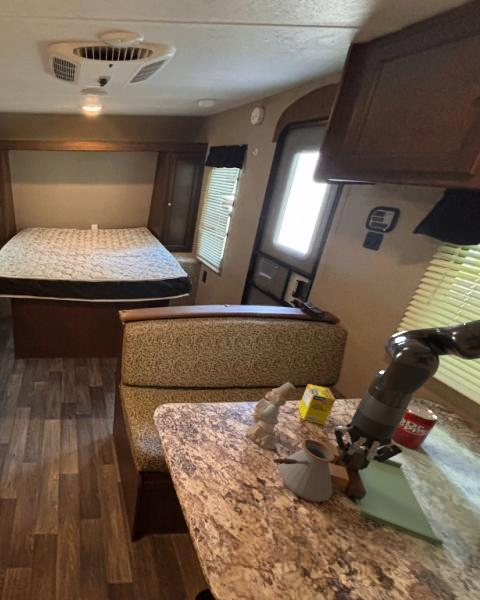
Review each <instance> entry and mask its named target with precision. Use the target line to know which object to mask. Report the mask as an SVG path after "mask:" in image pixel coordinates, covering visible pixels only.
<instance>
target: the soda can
mask: <svg viewBox="0 0 480 600" xmlns="http://www.w3.org/2000/svg"><path fill="white" fill-rule="evenodd" d="M437 423H438V416H437V415H436V414H435V413H434V412H433V411H432V410H430V409H429V408H427V407H424V406H422V405H419V404H416V403H412V402H410V404H409V406H408V408H407V410H406V414H405V416H404V418H403V419H402V421H401V423H400V425H399V426H398V428H397V430H396V432H395V433H394V435H393V437H392V438H391V439H392V441H393V442H394V441H395V442H398V444H399V445H400V447H404V448H407V449H408V450H409V449H410V450H414V451H415V450H416V451H417V450H419V449H421V447H422V445H423V444H424V442H425V441H426V439H427V438H428V436H430V433H431V432H432V431H433V429H434V427H435V426H436V425H437Z"/></svg>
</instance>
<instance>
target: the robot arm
mask: <svg viewBox="0 0 480 600" xmlns="http://www.w3.org/2000/svg"><path fill="white" fill-rule="evenodd" d="M383 346H384V351H385V353H386V354H387V356H388V359H389V360H390V362H389V364H388V367H387V368H386V369H383V370H380V371H378V372H377V373H376V374H375V375H374V376H373V378H372V380H371V382H370V385H369V386H368V389H367V390H366V392H365V393H364V394H363V396H362V397H361V400H360V401H359V402H358V406H357V408H356V410H355V412H354V414H353V415H352V418H351V420H350V422H349V423H347V424H346V425H345V426H339V425H338V424H336V423H335V424H332V429H333V433H334V436H335V439H336V443H337V446H339V449H340V450H343V452H342V454H341V460H342V462H343V463H344V464H345V465H348V464H349V462H350V460H351V458H352V454H353V453H354V452H355V451H356V450H358V449H359V448H362V447H363V449H364V450H365V453H366V455H367V456H366V458H365V460H364V462H363V464H362V466H361V467H360V470H363V468H364V469H366V468H367V466H368V465H369V463H370V461H373V460H377V461H378V462H383V461H385V460H387V459H392V458H393V457H395V456H398V455H399V454H402V453H403V449H402V446H401V445H399V444H398V442H395V441H393V440H392V439H391V438H392V437H393V435H394V433H395V432H396V430H397V428H398V426H399V425H400V423H401V421H402V419H403V418H404V416H405V414H406V410H407V408H408V406H409V404H410V403H412V402H411V401H413V399H414V397H415V395H416V392H417V391H419V390H421V388H422V387H424V386H425V385H426V384H427V383H428V382H429V381H430V380H431V379H432V378H433V377H434V376H435V375H436V374H437V372H438V370H439V367H440V363H441V360H440V357H441V356H454V357H458V358H459V359H462V360H465V361H471V360H472V361H473V360H480V319H476V320H472V321H468V322H464V323H463V322H462V323H460V324H455V325H452V326H440V327H439V326H437V327H428V328H427V327H426V328H418V329H409V330H405V331H401V332H398V333H395V334H393V335H392V336H390V337H388V338H387V339H386V340H385V343H384V345H383ZM346 433H348V435H349V436H348V438H347V441H346V442H344V437H345V436H346Z"/></svg>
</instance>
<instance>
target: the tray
mask: <svg viewBox="0 0 480 600" xmlns="http://www.w3.org/2000/svg"><path fill="white" fill-rule="evenodd" d="M402 466H403V464H402V462H400V461H397V460H393V459H391V458H389V459H387V460H385V461H383V462H378V461H377V460H373V461H370V463H369V465H368V466H367V468H366V469H364V468H363V470H360V469H359V471H358V472H359V474H360V477H361V480H362V482H363V485H364V488H365V490H366V495H365V496H364V498H362V499H361V500H359V499H356V498H354V500H355V503H356V507H357V509H358V512H359V515H360V516H361V517H363V518H367V519H369V520H371V521H374V522H376V523H379V524H382V525H384V526H387V527H390V528H393V529H395V530H398V531H400V532H403V533H406V534H409V535H411V536H413V537H416V538H418V539H421V540H424V541H427V542H429V543H432V544H434V545H438V546H442V545H443V544H444V541H443V539H441V538H439V537H437V536H436V534H435V531H434V530H433V527H432V526H431V524H430V522H429V520H428V519H427V517H426V514H425V512H424V510H423V509H422V507H421V505H420V503H419V501H418V499H417V497H416V496H415V494H414V490H413V489H412V488H411V486H410V484H409V481H408V480H407V478H406V476H405V474H404V472H403V470H402Z"/></svg>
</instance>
